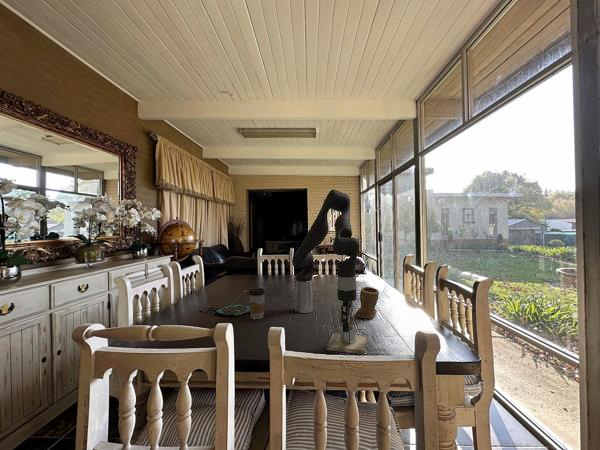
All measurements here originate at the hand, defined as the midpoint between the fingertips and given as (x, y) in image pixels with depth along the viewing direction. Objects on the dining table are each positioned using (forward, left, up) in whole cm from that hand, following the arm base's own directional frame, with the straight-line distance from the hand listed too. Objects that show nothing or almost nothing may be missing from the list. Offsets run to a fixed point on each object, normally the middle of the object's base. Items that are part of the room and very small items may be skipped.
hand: (347, 328), depth 115 cm
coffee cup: (-50, +21, -7) cm, 55 cm away
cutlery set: (-72, +29, -7) cm, 78 cm away
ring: (0, 0, -5) cm, 5 cm away
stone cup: (+5, +40, -7) cm, 41 cm away
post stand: (0, 0, -7) cm, 7 cm away
